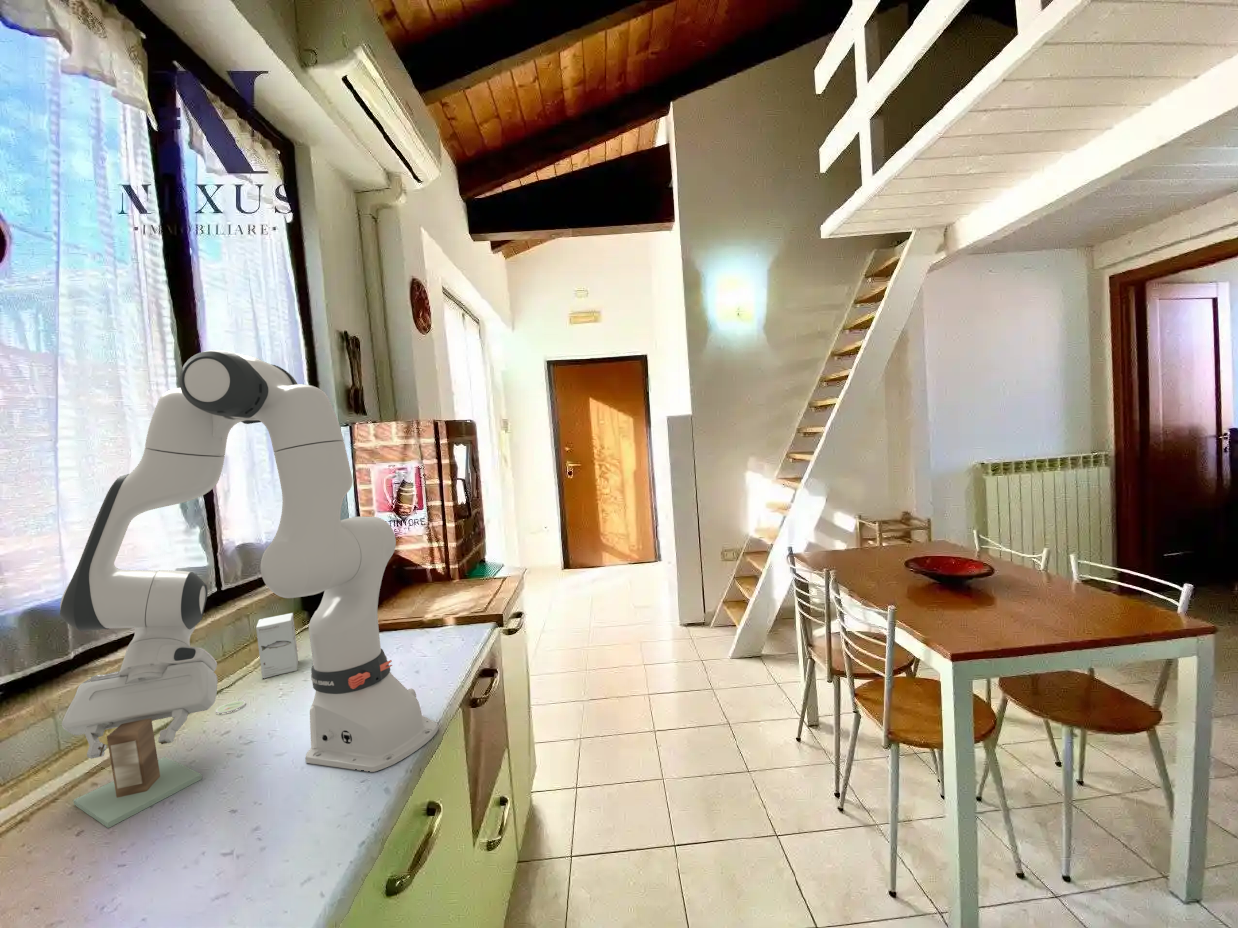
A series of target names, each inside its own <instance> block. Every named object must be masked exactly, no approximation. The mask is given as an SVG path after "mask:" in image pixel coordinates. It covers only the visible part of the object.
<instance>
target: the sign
mask: <svg viewBox="0 0 1238 928" xmlns="http://www.w3.org/2000/svg"><path fill="white" fill-rule="evenodd" d="M245 704H246V705H247V702H246V700H244V699H241V700H239V699H238V700H234V701H233V700H232V701H229V702H227V703H225V704H222V705H220V706H218V707H217V708H216V709H215V714H216V713H219V714H222V713H227V712H231V711H235V710H236V709H239V708H242V707H243V708H245V707H246V705H245ZM244 706H245V707H244ZM243 708H242V709H243Z"/></svg>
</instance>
